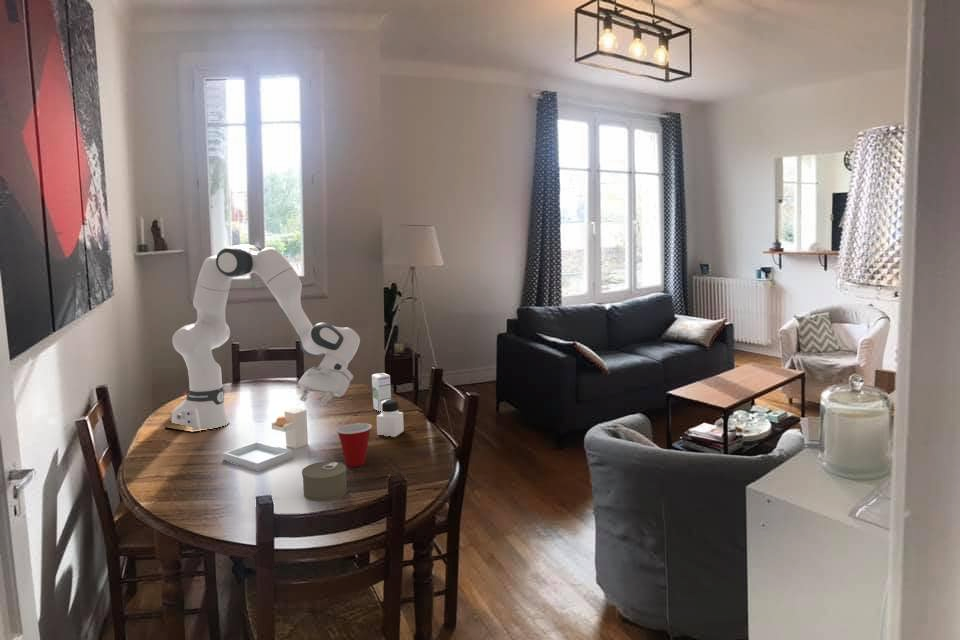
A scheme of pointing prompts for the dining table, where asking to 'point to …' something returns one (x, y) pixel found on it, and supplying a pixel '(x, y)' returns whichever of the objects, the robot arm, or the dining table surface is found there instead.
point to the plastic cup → (354, 443)
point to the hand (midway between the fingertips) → (311, 402)
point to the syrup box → (380, 389)
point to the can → (324, 481)
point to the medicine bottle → (390, 419)
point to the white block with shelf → (294, 428)
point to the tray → (257, 455)
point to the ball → (281, 421)
